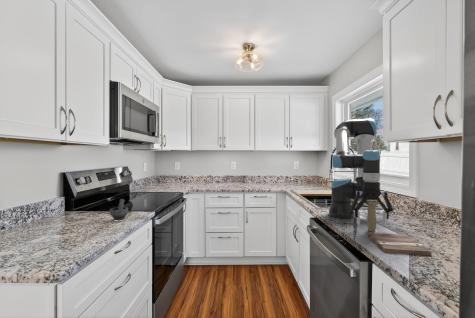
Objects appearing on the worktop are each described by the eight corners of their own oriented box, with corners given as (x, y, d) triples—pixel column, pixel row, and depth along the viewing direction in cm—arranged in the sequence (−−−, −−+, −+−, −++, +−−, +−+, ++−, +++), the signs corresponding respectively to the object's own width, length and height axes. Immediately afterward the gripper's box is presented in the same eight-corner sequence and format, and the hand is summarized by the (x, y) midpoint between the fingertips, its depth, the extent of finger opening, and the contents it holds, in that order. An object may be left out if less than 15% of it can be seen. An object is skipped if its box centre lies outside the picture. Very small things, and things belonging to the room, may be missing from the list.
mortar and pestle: (124, 222, 139) (124, 201, 139) (107, 222, 138) (107, 202, 138) (130, 217, 151) (130, 198, 150) (115, 217, 150) (115, 198, 150)
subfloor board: (367, 235, 113) (367, 231, 112) (405, 237, 109) (405, 233, 109) (384, 252, 93) (384, 247, 93) (431, 255, 90) (431, 250, 90)
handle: (371, 228, 123) (370, 199, 123) (380, 232, 117) (380, 202, 117) (362, 229, 122) (362, 200, 122) (372, 233, 116) (371, 202, 116)
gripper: (347, 181, 118) (347, 225, 118) (401, 182, 113) (401, 228, 113) (344, 180, 125) (344, 221, 126) (394, 180, 120) (394, 223, 121)
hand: (371, 224), depth 119 cm, fingers open, 11 cm apart
